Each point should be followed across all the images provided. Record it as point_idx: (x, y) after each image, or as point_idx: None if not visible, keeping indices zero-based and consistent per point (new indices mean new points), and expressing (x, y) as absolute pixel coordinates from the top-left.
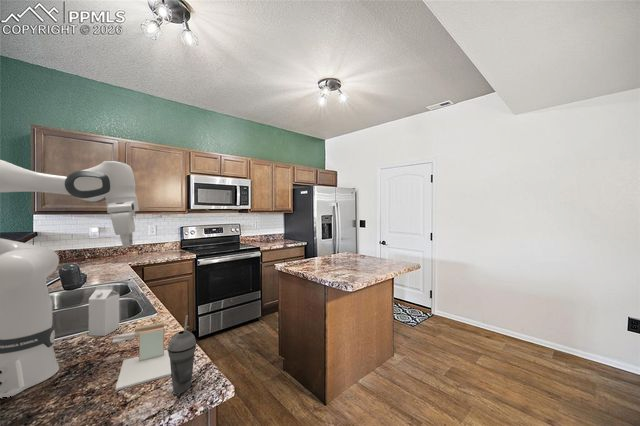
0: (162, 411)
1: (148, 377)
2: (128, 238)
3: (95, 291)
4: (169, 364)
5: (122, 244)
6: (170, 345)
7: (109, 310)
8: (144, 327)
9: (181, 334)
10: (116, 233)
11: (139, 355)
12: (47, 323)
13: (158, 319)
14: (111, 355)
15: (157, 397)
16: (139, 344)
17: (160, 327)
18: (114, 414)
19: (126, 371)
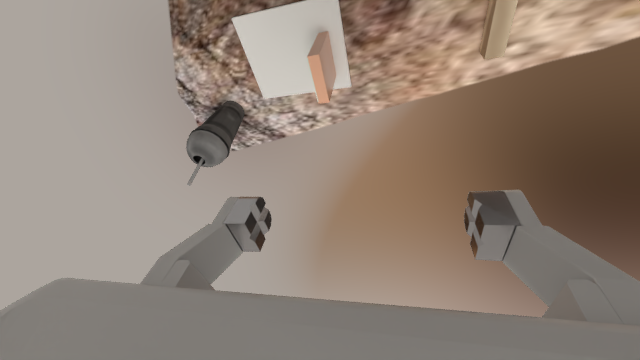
0: (190, 94)
1: (256, 65)
2: (208, 277)
3: None
4: (289, 90)
5: (218, 213)
6: (189, 138)
7: None
8: (501, 3)
9: (192, 159)
10: (37, 293)
11: (316, 37)
12: None
13: (624, 11)
14: None
15: (214, 84)
16: (311, 47)
17: (484, 47)
18: (182, 37)
19: (283, 18)
